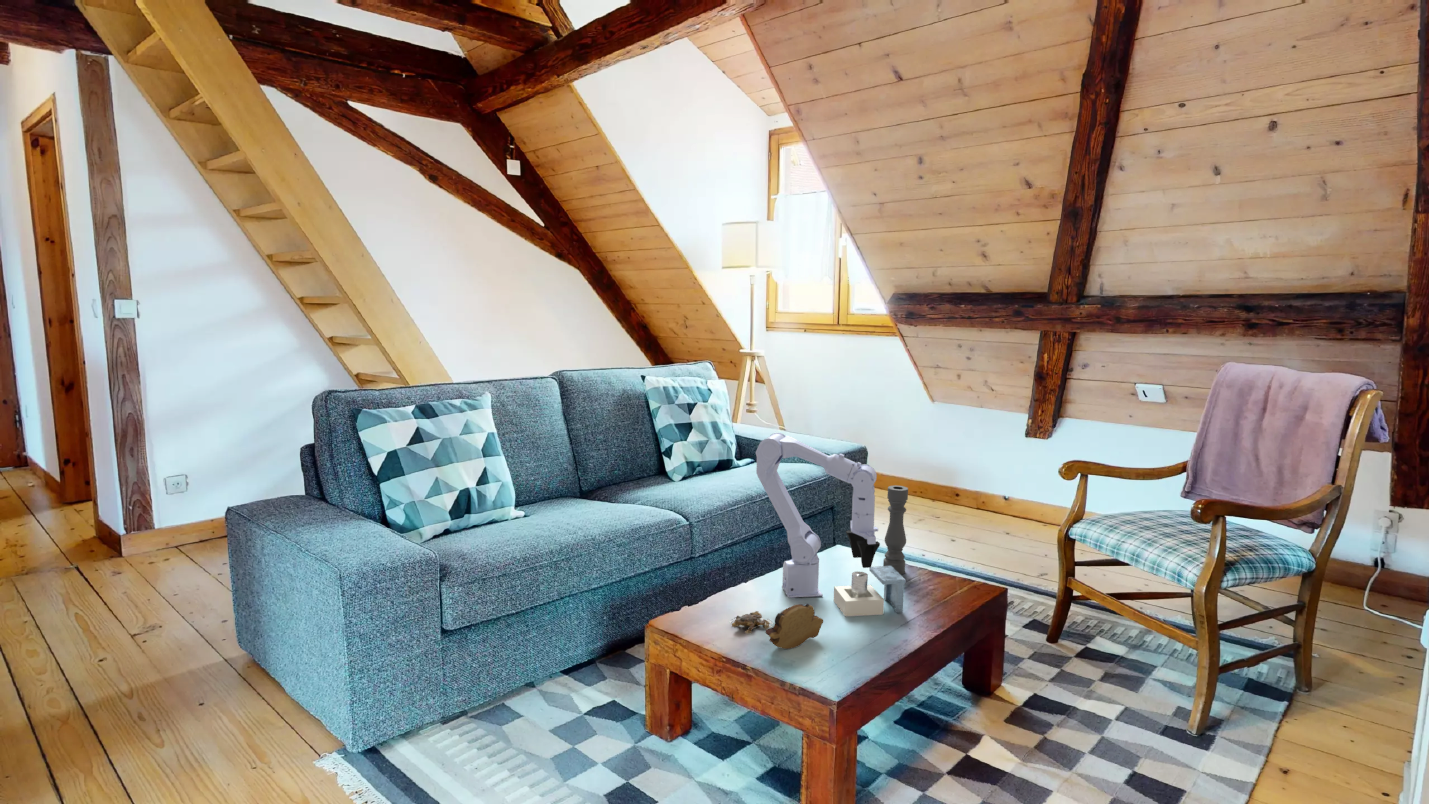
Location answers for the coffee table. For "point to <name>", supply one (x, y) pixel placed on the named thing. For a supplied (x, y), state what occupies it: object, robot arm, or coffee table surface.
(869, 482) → the robot arm
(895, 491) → the candle holder
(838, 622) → the coffee table surface
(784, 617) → the wooden carving
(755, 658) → the coffee table surface
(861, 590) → the peg
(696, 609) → the coffee table surface
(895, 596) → the grey arch block
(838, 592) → the socket block
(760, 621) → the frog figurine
